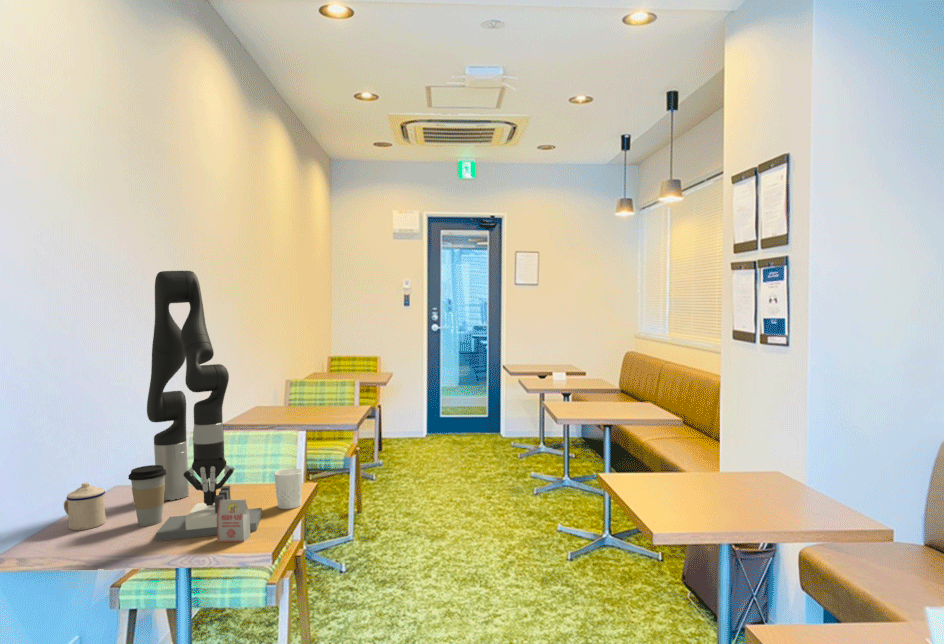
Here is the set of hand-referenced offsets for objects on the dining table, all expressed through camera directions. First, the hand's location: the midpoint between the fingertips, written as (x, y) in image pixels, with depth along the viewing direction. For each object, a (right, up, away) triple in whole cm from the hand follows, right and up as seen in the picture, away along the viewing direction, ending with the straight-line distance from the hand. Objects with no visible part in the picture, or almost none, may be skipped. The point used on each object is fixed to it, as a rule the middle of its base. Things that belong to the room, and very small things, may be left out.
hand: (210, 504), depth 167 cm
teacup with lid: (-38, -8, +6) cm, 39 cm away
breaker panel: (0, -6, 0) cm, 6 cm away
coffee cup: (-19, -7, +6) cm, 21 cm away
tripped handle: (+3, -1, +1) cm, 4 cm away
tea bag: (+10, -6, -9) cm, 15 cm away
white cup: (+16, -5, +17) cm, 24 cm away
